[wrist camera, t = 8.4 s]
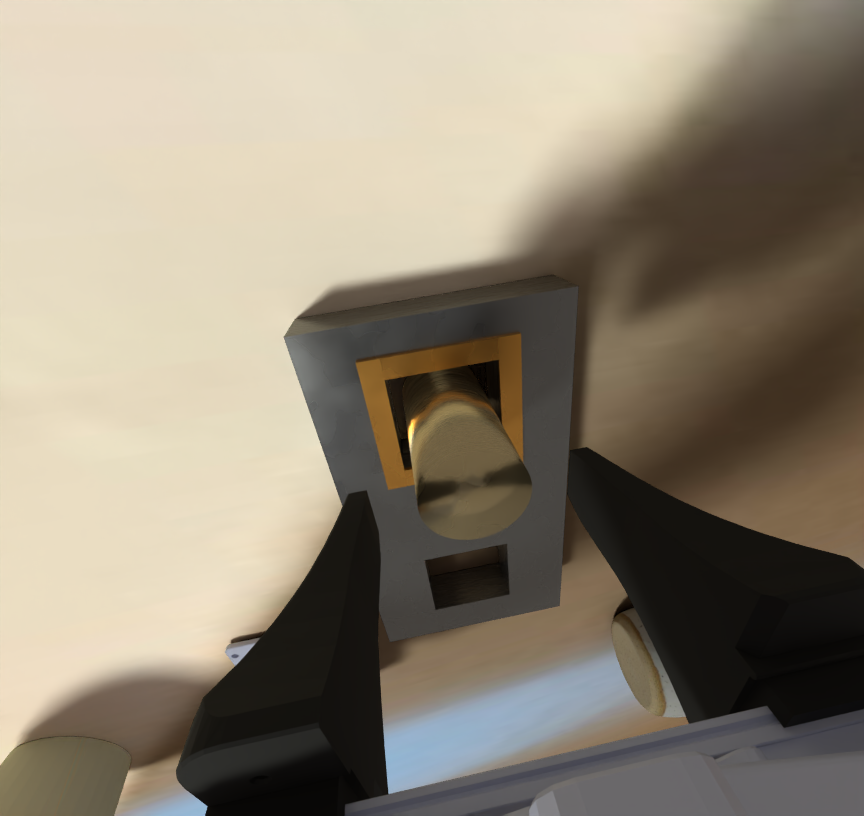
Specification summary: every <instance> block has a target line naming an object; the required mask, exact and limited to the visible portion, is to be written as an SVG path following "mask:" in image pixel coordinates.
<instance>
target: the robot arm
mask: <svg viewBox="0 0 864 816" xmlns="http://www.w3.org/2000/svg"><path fill="white" fill-rule="evenodd" d="M567 494H568V496H569V499H570V501H571V503H572V505H573V507H574V509H575V511H576V513H577V515H578V517H579V519H580V521H581V522H582V524H583V525H584V527H585V528H586V530H587V532H588V533H589V535H590V536H591V538H592V539H593V541H594V542H595V544H596V545H597V547H598V548H599V550H600V551H601V553H602V554H603V556H604V557H605V559H606V560H607V562H608V563H609V565H610V566H611V568H612V569H613V571H614V572H615V574H616V576H617V577H618V579H619V581H620V582H621V584H622V585H623V587H624V589H625V591H626V593H627V595H628V597H629V598H630V600H631V602H632V604H633V606H634V608H635V610H636V612H637V614H638V615H639V617H640V619H641V621H642V623H643V625H644V627H645V629H646V631H647V633H648V635H649V637H650V639H651V641H652V643H653V645H654V647H655V650H656V652H657V654H658V656H659V658H660V660H661V662H662V664H663V667H664V669H665V671H666V673H667V675H668V677H669V679H670V681H671V684H672V686H673V688H674V691H675V693H676V695H677V697H678V700H679V702H680V704H681V706H682V709H683V711H684V713H685V715H686V718H687V720H688V723H689V724H687V725H682V726H678V727H674V728H670V729H665V730H661V731H657V732H652V733H648V734H644V735H640V736H635V737H631V738H627V739H623V740H618V741H614V742H610V743H606V744H601V745H597V746H593V747H588V748H584V749H580V750H576V751H571V752H567V753H563V754H559V755H554V756H550V757H546V758H541V759H537V760H533V761H529V762H524V763H520V764H516V765H512V766H507V767H503V768H499V769H495V770H490V771H486V772H482V773H477V774H473V775H469V776H465V777H460V778H456V779H452V780H448V781H443V782H439V783H435V784H430V785H426V786H422V787H418V788H413V789H409V790H405V791H401V792H396V793H392V794H388V785H387V772H386V760H385V747H384V733H383V719H382V704H381V687H380V669H379V648H378V618H379V595H380V572H381V553H380V539H379V530H378V527H377V523H376V520H375V517H374V513H373V510H372V506H371V503H370V500H369V496H368V493H367V490H364V491H359V492H354V493H349V494H348V495H347V497H346V499H345V502H344V504H343V507H342V509H341V512H340V514H339V516H338V518H337V520H336V523H335V525H334V527H333V529H332V531H331V533H330V535H329V537H328V539H327V541H326V543H325V545H324V547H323V549H322V550H321V552H320V554H319V556H318V557H317V559H316V561H315V563H314V564H313V566H312V568H311V569H310V571H309V573H308V574H307V576H306V578H305V579H304V581H303V582H302V584H301V585H300V587H299V588H298V590H297V591H296V593H295V594H294V595H293V597H292V598H291V600H290V601H289V602H288V604H287V605H286V606H285V608H284V609H283V610H282V612H281V613H280V614H279V616H278V617H277V618H276V620H275V621H274V622H273V623H272V625H271V626H270V627H269V628H268V630H267V631H266V632H265V633H264V634H263V635H262V637H260V638H256V639H251V640H246V641H241V642H237V643H232V644H229V645H228V646H227V647H226V651H225V653H226V654H227V656H228V657H229V658H230V660H231V661H232V662H233V664H234V665H235V667H234V668H233V669H232V670H231V671H230V672H229V673H228V674H227V675H226V676H225V677H224V678H223V679H222V680H221V681H220V682H219V683H218V684H217V685H216V686H215V687H214V688H213V689H212V690H211V691H210V692H209V693H208V694H207V695H206V696H205V697H203V699H202V702H201V705H200V707H199V709H198V711H197V713H196V716H195V718H194V720H193V723H192V726H191V728H190V731H189V734H188V737H187V740H186V743H185V746H184V749H183V752H182V755H181V758H180V761H179V764H178V766H177V769H176V775H177V779H178V781H179V783H180V784H181V785H182V786H183V787H184V788H185V789H186V790H187V791H189V792H190V793H191V794H192V795H194V796H195V797H196V798H198V799H199V800H200V801H202V802H203V803H204V804H205V805H207V806H208V807H207V811H206V814H205V816H864V569H863V568H862V567H860V566H859V565H858V564H857V563H855V562H854V561H853V560H851V559H850V558H848V557H845V556H841V555H837V554H833V553H829V552H826V551H822V550H818V549H814V548H810V547H806V546H803V545H799V544H795V543H792V542H789V541H785V540H782V539H779V538H776V537H773V536H769V535H766V534H763V533H760V532H757V531H754V530H751V529H748V528H746V527H743V526H740V525H738V524H735V523H732V522H730V521H727V520H724V519H722V518H719V517H717V516H714V515H712V514H709V513H707V512H705V511H702V510H700V509H698V508H696V507H694V506H691V505H689V504H687V503H685V502H683V501H680V500H678V499H676V498H674V497H672V496H670V495H668V494H667V493H665V492H663V491H661V490H659V489H657V488H655V487H653V486H651V485H650V484H648V483H646V482H644V481H642V480H641V479H639V478H637V477H635V476H634V475H632V474H630V473H629V472H627V471H625V470H624V469H622V468H620V467H619V466H617V465H615V464H614V463H612V462H611V461H609V460H607V459H606V458H604V457H602V456H601V455H599V454H597V453H596V452H594V451H592V450H591V449H589V448H587V447H585V448H580V449H575V450H570V458H569V475H568V492H567Z"/></svg>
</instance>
